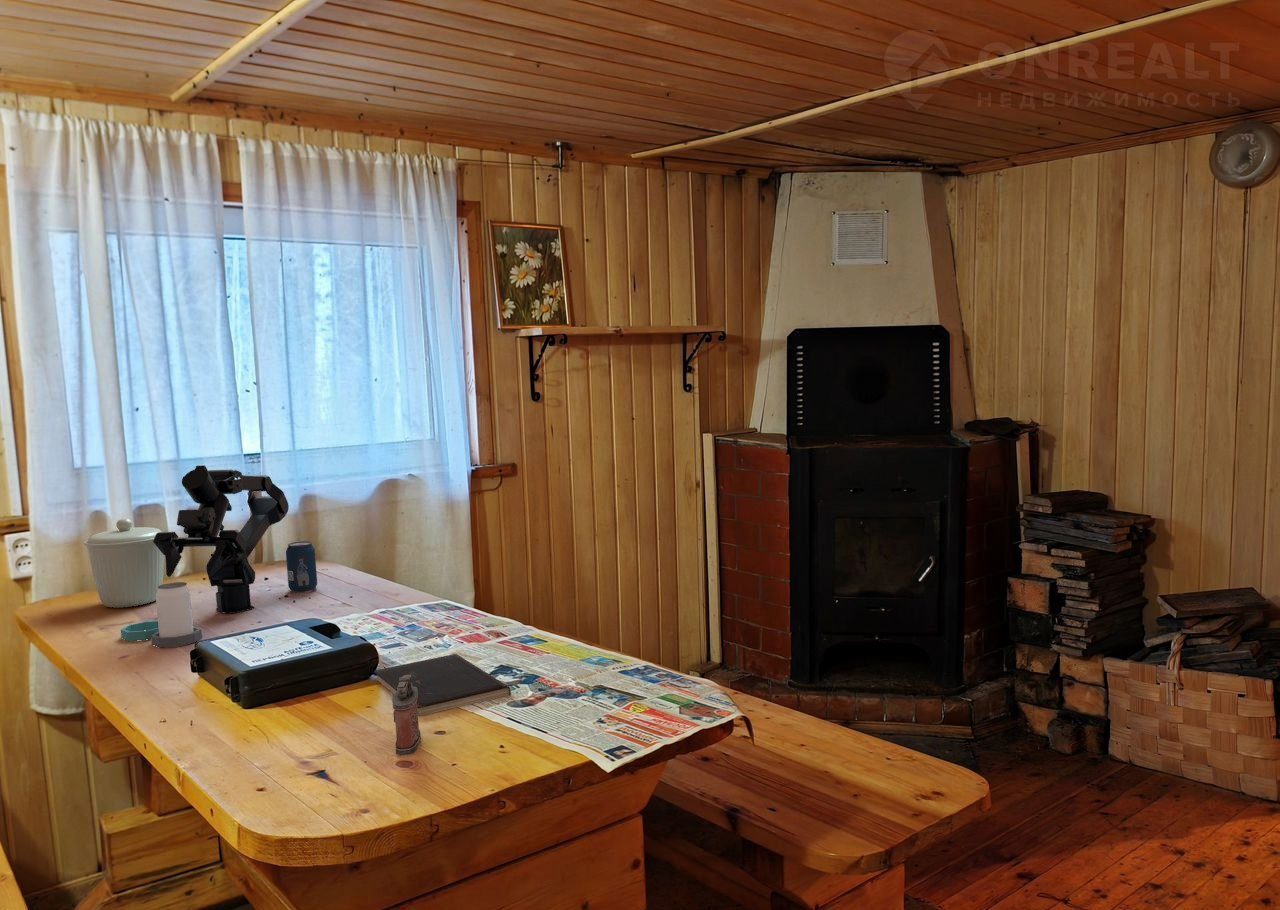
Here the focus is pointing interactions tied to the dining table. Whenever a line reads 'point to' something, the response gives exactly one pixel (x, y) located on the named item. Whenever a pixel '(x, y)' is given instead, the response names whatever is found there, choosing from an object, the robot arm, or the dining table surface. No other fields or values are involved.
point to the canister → (126, 565)
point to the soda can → (301, 567)
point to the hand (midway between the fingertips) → (188, 575)
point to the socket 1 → (139, 631)
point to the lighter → (406, 717)
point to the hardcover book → (444, 683)
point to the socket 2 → (176, 639)
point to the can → (174, 610)
